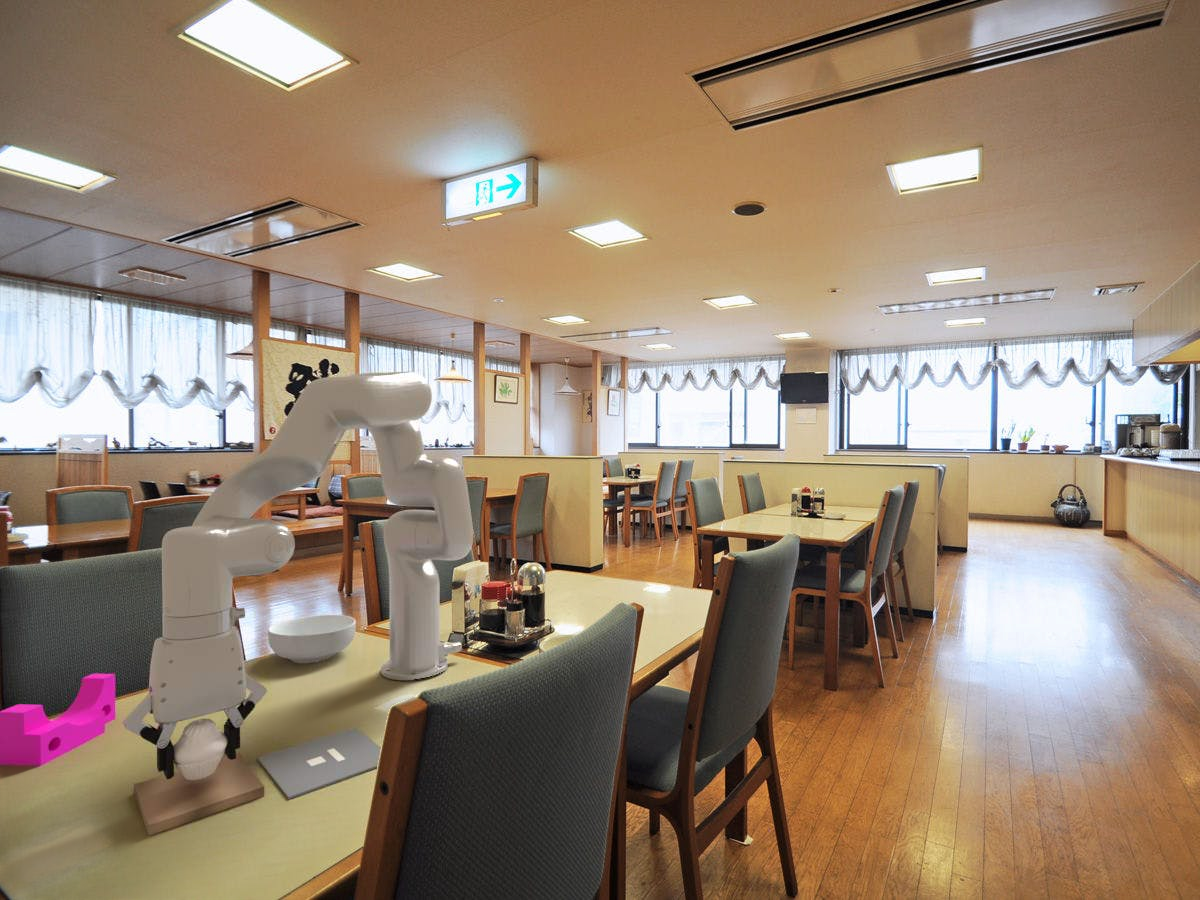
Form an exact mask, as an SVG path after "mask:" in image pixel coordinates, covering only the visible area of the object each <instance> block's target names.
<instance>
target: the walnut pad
mask: <svg viewBox="0 0 1200 900" xmlns="http://www.w3.org/2000/svg"><path fill="white" fill-rule="evenodd" d="M133 795H134V799H135V801H136V803H137V806H138V807H137V808H138V809H139V812H140V815H141V818H142V821H143V824H144V827H145V829H146V832H147V835H148V836H152V835H155V834H158V833H162V832H163V831H166V830H169V829H172V828H176V827H178V826H181V825H184V824H187V823H191V822H193V821H195V820H198V819H199V820H200V819H202V818H205V817H207V816H210V815H213V814H216V813H219V812H222V811H224V810H228V809H230V808H234V807H236V806H239V805H242V804H245V803H247V802H250V801H254V800H256V799H259V798H262V797H265V785H264V784H263V783H262V782H261V780H260V779H259V778H258V776H257V775H256V773H255V772H254V771H253V769H252V767H250V765H249V764H248V763H247V761H246V760H245V759H244V757H243V756H242V754H241V753H240V752H238V753H237V752H236V759H233V760H231V759H228V757H227V756H225V757H222V758H221V760H220V762H219V764H218V766H217V768H216V770H215V772H213V774H211V775H209V776H208V777H206V778H203V779H198V780H187V779H185V777H184V776H183V775H182V773H181V772H180V771H179V770H177V771H174V776H173V777H172V778H171V779H166V776H165V774H164V775H161V776H156V777H153V778H150V779H147V780H143V781H140V782H136V783H134V784H133Z"/></svg>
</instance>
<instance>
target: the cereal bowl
mask: <svg viewBox="0 0 1200 900" xmlns="http://www.w3.org/2000/svg"><path fill="white" fill-rule="evenodd" d="M356 626H357V622H356V619H355V618H354V617H352V616H348V615H343V614H320V615H319V614H318V615H309V616H302V617H295V618H291V619H288V620H284V621H281V622H280V621H279V622H277V623H275V624H272V625H271V626H269V628H268V630H267V639H268V644H269V647H270V649H271V650H272V652H273V653H275V654H276V655H277V656H279V657H281V658H284V659H288V660H291V661H292V662H293V661H294V662H293V663H296V662H297V663H296V664H312V663H311V662H314V663H318V662H317V661H320V662H322V661H321V660H323V661H325V660H324V659H327V658H329V659H330V657H331V656H332V657H333V656H334V655H335V654H338V653H339V652H341V651H344V650H345V649H346V648H347V647H349V646H350V644H351V643H352V642H353V640H354V637H355V634H356ZM332 657H331V658H332ZM327 660H328V659H327Z"/></svg>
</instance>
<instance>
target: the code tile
mask: <svg viewBox="0 0 1200 900" xmlns="http://www.w3.org/2000/svg"><path fill="white" fill-rule="evenodd" d="M381 748H382V747H381V746H379V744H377V743H376V742H374V740H372V739H371V738H370V737H369V736H367V735H366V734H365V733H364V732H363V731H361V730H360V729H359V728H357V727H350V728H348V729H344V730H342V731H338V732H335V733H332V734H328V735H324V736H322V737H319V738H315V739H312V740H308V741H306V742H302V743H299V744H296V745H292V746H289V747H286V748H282V749H280V750H276V751H272V752H269V753H266V754H263V755H260V756H256V759H257V762H259V764H260V765H261V767H263V768H264V770H265V771H266V772H267V774H268V776H270V777H271V779H272V780H273V781H274V783H275V784H276V785H277V786H278V788H279V789H280V790H281V792H282V793H283V794H284V796H286V798H287V799H288V800H291V799H294V798H298V797H299V796H302V795H305V794H308V793H311V792H314V791H317V790H319V789H322V788H325V787H328V786H330V785H333V784H336V783H338V782H342V781H344V780H347V779H349V778H352V777H355V776H358V775H361V774H363V773H367V772H369V771H373V770H375V769H378V768H377V765H378V760H379V755H380V749H381Z"/></svg>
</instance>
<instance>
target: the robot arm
mask: <svg viewBox="0 0 1200 900" xmlns="http://www.w3.org/2000/svg"><path fill="white" fill-rule="evenodd" d="M432 395H433V393H432V389H431V386H430V384H429V381H427V379H426V378H425V377H424V376H423V375H421V374H420V373H418V372H414V371H393V372H391V371H390V372H367V373H365V372H364V373H355V374H351V375H347V376H329V377H321V378H317V379H314V380H312V381H311V382H309V383H308V384H307V385H306V386H305V387H304V388H303V390H302V392H301V393H300V394H299V396H298V398H297V400H296V401H295V403H294V405H292V408H291V410H290V411H289V413H288V414H287V416H286V418H285V419H284V420H283V423H282V425H281V426H280V428H279V430H278V431H277V433H276V434H275V436H274V438H273V439H272V440H271V442H270V444H269V445H268V446H267V448H266V449H265V450H264V451H263V452H261V453H259V454H258V455H257V456H255V457H254V458H252V459H250V461H248V462H247V463H245V464H244V465H243V466H242V467H240V468H239V469H238V470H236V471H234V472H233V473H232V474H231V475H230V476H228V477H227V478H226V479H225V480H223V481H222V482H221V483H220V484H219V485H218V486H217V487H216V488H215V489H214V491H213V492H212V493H211V494H210V495H209V497H208V499H207V500H206V501H205V503H204V505H203V507H202V508H201V509H200V511H199V512H198V514H197V516H196V518H195V519H194V521H193V522H192V525H191V526H183V527H178V528H177V527H176V528H174V529H171V530H169V531H167V532H165V534H164V536H163V538H162V541H161V582H162V583H161V585H162V586H161V587H162V591H161V593H162V600H161V601H162V636H160V637H158V638H156V639H155V640H154V644H153V647H152V653H151V660H150V667H149V680H148V694H147V695H146V696H145V697H144V698H143V699H142V700H141V701H140V702H139V703H138V704H137V706H136V707H135V708H134V709H132V711H131V712H130V713H129V714H128V715H127V716H126V717H125V719H124V720H122V721H123V722H122V723H123V728H125V729H126V730H128V731H130V733H131V732H132V733H133V734H135V735H138V736H140V737H141V738H142V739H143V740H145V741H147V742H149V743H151V744H153V745H155V746H156V765H157V766H156V768H157V772H158V773H161V772H163V774H164V775H165V776H166V779H171V778H172V777H173V776H174V772H175V764H174V744H173V742H172V739H171V738H172V735H173V733H174V731H175V729H176V726H177V724H178V722H183V721H187V720H191V719H195V718H199V717H204V716H207V715H211V714H215V713H218V712H222V711H223V712H224V714H225V716H226V717H227V719H226V721H225V722H224V724H223V734H225V735H226V737H227V739H228V743H227V746H226V748H225V752H224V754H225V757H228V759H231V760H233V759H236V754H237V750H239V749H240V748H241V727H242V726H243V725H244V722H245V720H246V719H247V717H249V715H250V714H251V713H252V711H253V710H254V709H255V708H256V705H257V704H258V703H259V702H260V701H261V700H262V699H263V697H264V696H265V695H266V694H267V693H268V689H267V688H266V687H265V686H264V685H263V684H262V683H260V682H259V681H257V680H255V679H253V678H252V677H251V676H249V675H248V674H246V668H245V666H246V665H245V659H244V650H243V645H242V640H241V635H240V631H239V629H238V627H237V626H235V623H236V621H239V619H245V616H246V610H245V609H246V608H245V607H240V608H238V607H234V605H233V579H234V578H236V577H246V576H258V575H259V576H260V575H266V574H270V573H273V572H275V571H277V570H281V568H283V567H284V566H286V565H287V563H289V561H290V559H291V558H292V557H293V555H294V552H295V547H296V543H295V542H296V541H295V537H294V535H293V533H292V531H291V530H290V529H289V527H287V526H286V525H285V524H284V523H281V522H280V521H278V520H277V521H276V520H272V519H265V518H252V517H253V515H254V514H255V513H256V512H257V511H258V510H259V509H260V508H261V507H263V506H264V505H265V504H266V503H267V504H268V502H270V501H272V500H273V499H276V498H277V497H278V496H281V495H282V494H286V493H287V492H291V491H293V490H295V489H297V488H298V489H299V488H301V487H303V486H305V485H307V484H309V483H311V482H314V481H316V480H317V479H318V478H320V477H322V475H323V474H324V472H325V470H326V469H327V466H328V464H329V463H330V461H331V459H332V457H333V455H334V453H335V452H336V450H337V449H338V446H339V444H340V443H341V440H342V438H343V437H344V435H345V433H346V432H347V431H348V430H354V429H355V430H360V429H361V430H368V431H369V433H370V434H371V436H372V438H373V441H374V443H375V444H374V445H375V448H376V452H377V458H378V464H379V470H380V476H381V481H382V487H383V492H384V494H385V497H386V500H388V501H389V502H390V503H391V504H393V505H397V506H402V507H420V508H421V507H422V508H425V507H426V508H433V509H434V510H433V509H432V510H431V509H405V510H401V511H397V512H395V513H394V514H392V515H390V517H389V518H388V519H387V520H386V523H385V525H384V527H383V544H384V549H385V552H386V553H385V554H386V558H387V563H388V564H387V565H388V573H389V575H388V577H389V580H388V582H389V590H388V591H389V605H388V606H389V608H388V609H389V660H386V662H384V663H383V664H382V665H381V675H382V676H383V677H385V678H387V679H389V680H393V681H394V680H395V681H415V680H414V679H419V680H421V679H420V678H424V677H428V676H432V675H436V674H438V675H440V674H442V673H444V672H445V671H446V670H447V669H448V665H449V664H448V663H449V661H448V659H447V656H449V654H454V653H458V652H461V651H462V650H463V645H462V643H461V642H460V641H456V642H453V643H450V642H449V641H444V642H442V641H441V639H440V637H441V636H440V631H441V630H440V628H441V627H440V625H441V624H440V622H441V621H440V619H441V618H440V617H441V615H440V608H441V607H440V584H441V583H440V577H439V573H438V570H437V569H436V567H435V565H434V563H433V560H436V561H459V560H461V559H464V558H466V556H468V554H469V553H470V551H471V549H472V546H473V543H474V527H473V525H474V524H473V518H472V510H471V505H470V504H471V502H470V496H469V488H468V483H467V478H466V473H465V472H464V470H463V467H462V466H461V465H460V463H458V462H457V461H456V460H454V459H452V458H450V457H445V456H442V457H441V456H428V455H427V454H426V452H425V449H424V448H425V447H424V444H423V443H424V442H423V438H422V433H421V430H420V427H419V425H418V423H417V422H416V421H418V420H419V419H421V418H423V417H424V416H425V415H426V414H427V413H428V411H429V409H430V408H431V404H432V399H433V396H432ZM443 671H444V672H443ZM441 672H442V673H441ZM439 673H440V674H439ZM436 676H437V675H436ZM432 677H433V676H432ZM247 690H248V691H250V693H249V695H248V696H247ZM246 696H247V697H246ZM148 714H151V715H153V719H154V722H155V723H156V724H157V727H154V726H152V725H150V724H149V723H146V722H144V721H143V719H144V718H145V717H146V716H147V715H148Z"/></svg>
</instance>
